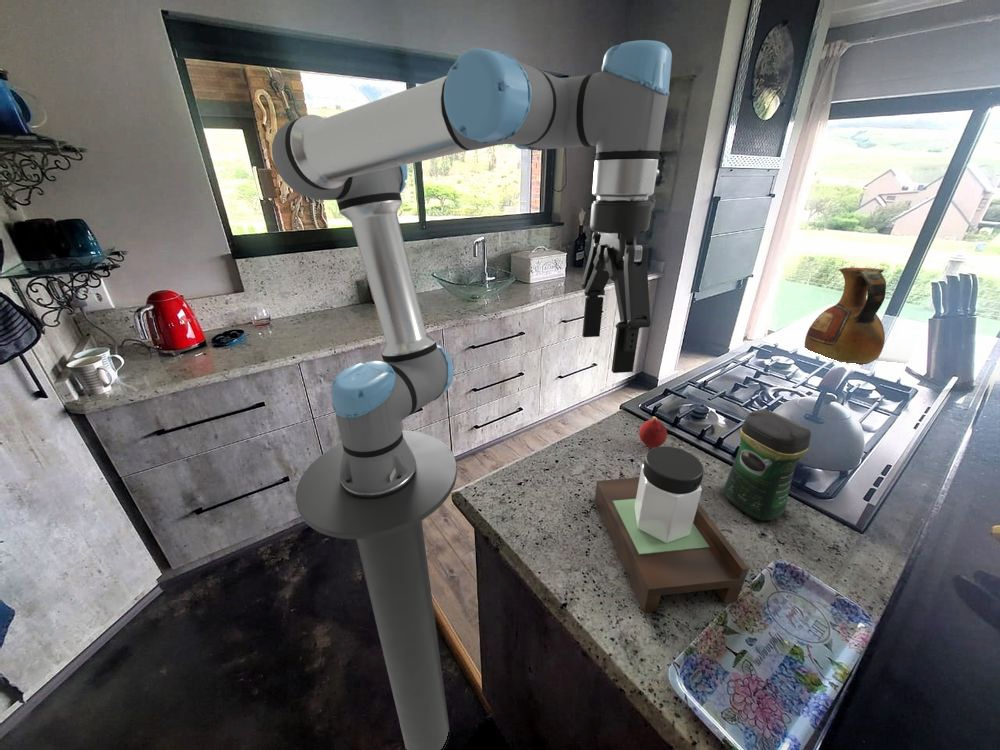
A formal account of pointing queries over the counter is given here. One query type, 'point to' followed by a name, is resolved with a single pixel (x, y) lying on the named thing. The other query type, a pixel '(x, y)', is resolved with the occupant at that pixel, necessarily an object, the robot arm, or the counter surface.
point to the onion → (653, 433)
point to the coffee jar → (765, 464)
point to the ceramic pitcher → (852, 320)
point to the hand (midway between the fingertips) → (604, 352)
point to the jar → (668, 493)
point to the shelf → (668, 551)
